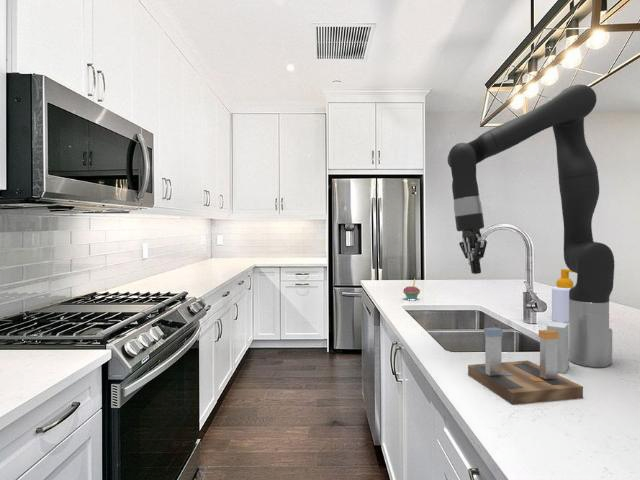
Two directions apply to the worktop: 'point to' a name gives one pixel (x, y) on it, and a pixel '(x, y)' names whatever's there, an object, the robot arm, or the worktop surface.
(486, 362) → the lever blue
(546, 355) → the lever orange
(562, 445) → the worktop surface
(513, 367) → the switch base
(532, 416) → the worktop surface
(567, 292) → the soap bottle
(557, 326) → the skincare box
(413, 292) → the cupcake
